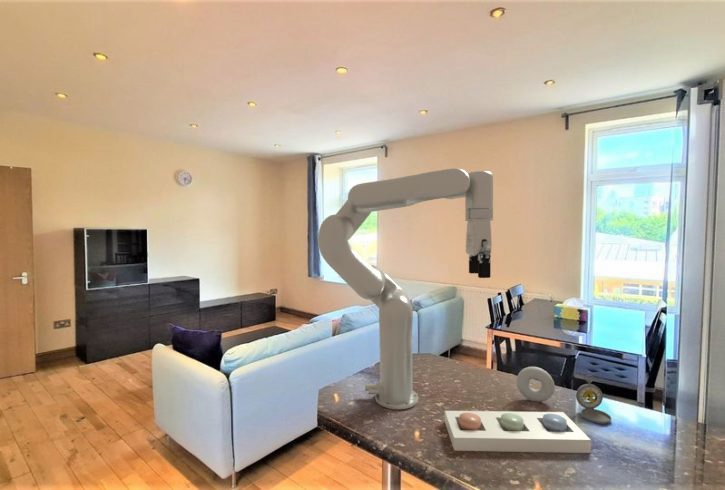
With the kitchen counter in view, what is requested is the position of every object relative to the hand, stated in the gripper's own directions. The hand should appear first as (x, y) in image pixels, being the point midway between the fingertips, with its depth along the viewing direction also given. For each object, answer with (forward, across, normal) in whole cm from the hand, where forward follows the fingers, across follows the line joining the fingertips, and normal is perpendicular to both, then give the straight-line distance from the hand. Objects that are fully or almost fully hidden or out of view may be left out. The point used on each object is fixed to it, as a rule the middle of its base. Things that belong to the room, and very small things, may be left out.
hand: (479, 275), depth 103 cm
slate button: (+34, +18, +13) cm, 41 cm away
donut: (+37, 0, +16) cm, 40 cm away
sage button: (+34, +18, +3) cm, 39 cm away
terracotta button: (+34, +18, -7) cm, 39 cm away
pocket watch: (+37, +8, +28) cm, 47 cm away
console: (+37, +18, +3) cm, 41 cm away
